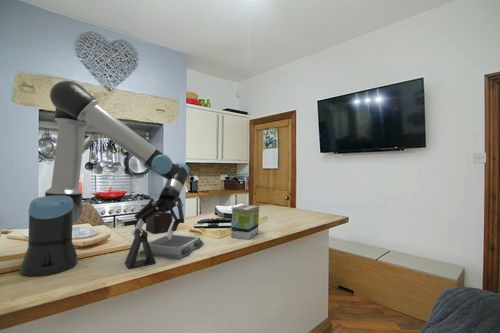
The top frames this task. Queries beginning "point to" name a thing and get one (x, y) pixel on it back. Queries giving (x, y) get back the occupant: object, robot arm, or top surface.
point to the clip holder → (174, 246)
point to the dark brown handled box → (159, 222)
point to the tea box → (245, 221)
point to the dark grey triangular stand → (134, 251)
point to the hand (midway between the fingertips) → (151, 236)
